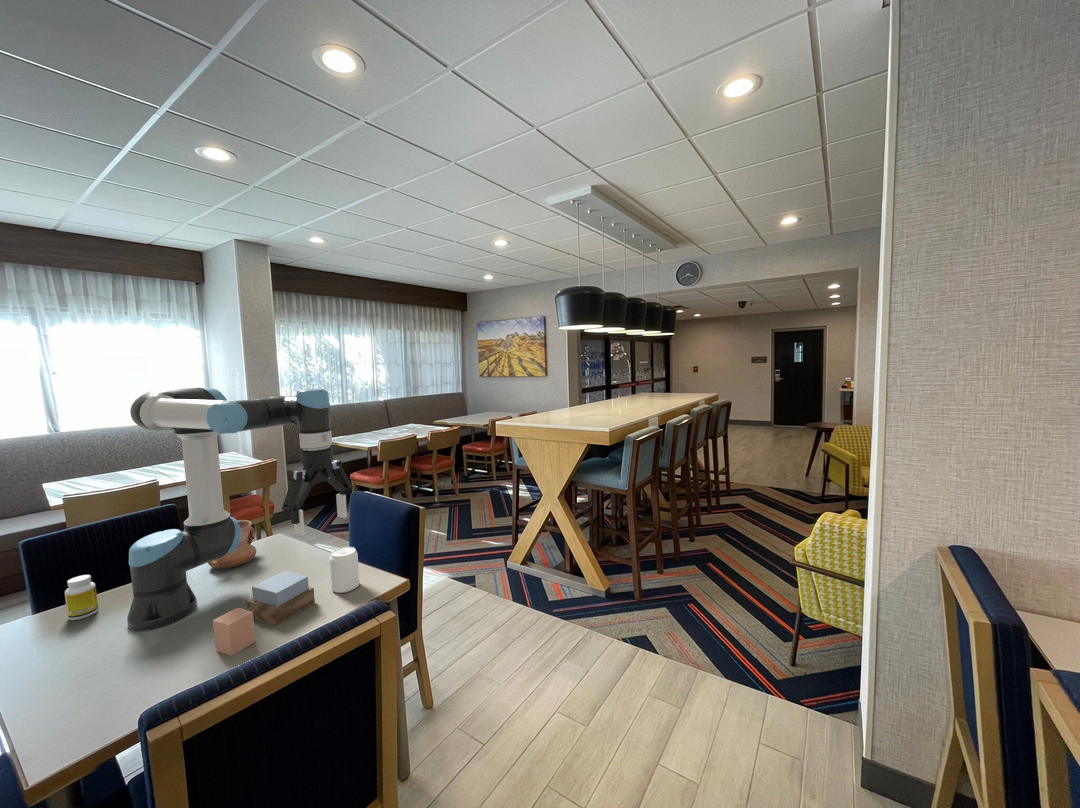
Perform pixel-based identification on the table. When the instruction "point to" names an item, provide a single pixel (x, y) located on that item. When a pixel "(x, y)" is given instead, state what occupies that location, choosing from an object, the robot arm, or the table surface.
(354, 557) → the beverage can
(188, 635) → the table surface
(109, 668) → the table surface
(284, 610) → the walnut block
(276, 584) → the slate block
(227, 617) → the terracotta block
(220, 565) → the ceramic jug
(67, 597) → the pill bottle
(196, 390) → the robot arm
